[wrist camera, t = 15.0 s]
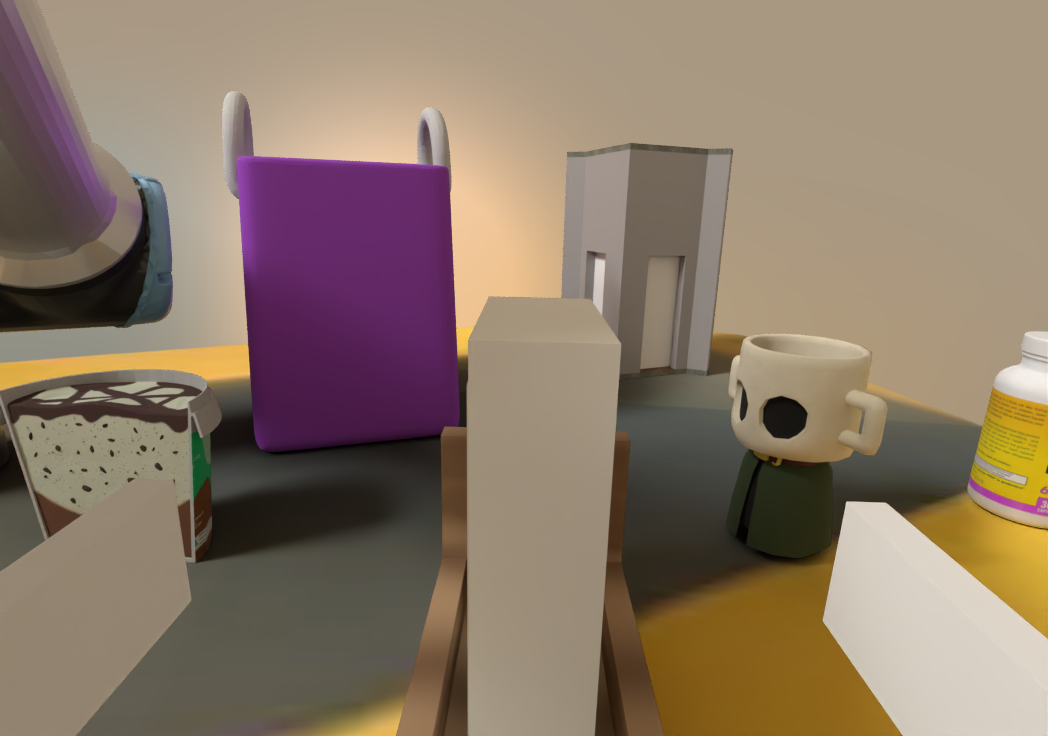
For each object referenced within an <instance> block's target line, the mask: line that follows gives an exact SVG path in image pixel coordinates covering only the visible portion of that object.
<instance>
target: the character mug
mask: <svg viewBox="0 0 1048 736" xmlns="http://www.w3.org/2000/svg"><path fill="white" fill-rule="evenodd" d="M871 361H872V351H870V350H868V349H866V348H865V347H863V346H859V345H856V344H852V343H849V342H846V341H841V340H835V339H829V338H824V337H816V336H807V335H795V334H758V335H753V336H748V337H747V338H745V339H744V340H743V343H742V347H741V353H740V355H737V356H735V357H734V359H733V361H732V364H731V373H730V381H729V389H728V391H729V397H730V398H731V399H732V400H734V403H733V407H732V411H731V413H732V420H731V424H732V427H733V430H734V432H735V434H736V437H737V439H738V440H739V442H740V443H741V444H742V445H744V446H745V447H747V448H749V450H748V451H747V452H746V454H745V456H744V459H743V462H742V465H741V468H740V472H739V475H738V479H737V482H736V485H735V489H734V492H733V495H732V499H731V504H730V508H729V513H728V517H727V521H726V524H727V526H728V528H729V530H730V532H731V534H733V535H734V536H736V533H737V529H738V525H739V521H741V522H742V523H743V524H744V525H745V526H746V527H747V528H748V536H747V542H746V544H747V545H749V546H750V547H752V548H755V549H758V550H760V551H763V552H766V553H768V554H771V555H776V556H784V557H792V558H801V557H804V556H808V555H812V554H815V553H819V552H821V551H822V550H824V549H825V548H827V547H828V546H830V545H831V529H832V480H833V471H832V468H831V465H830V463H829V461H838V460H841V459H844V458H847V457H850V455H851V454H852V452H853V450H856V451H858V452H861V453H863V454H866V455H875V453H876V451H877V450H878V448H879V446H880V445H881V440H882V435H883V430H884V425H885V420H886V415H887V405H886V402H885V401H883V400H882V399H880V398H879V397H877V396H874V395H871V394H867V393H866V388H867V383H868V377H869V372H870V367H871ZM862 410H864V411H865V418H864V423H863V429H862V434H861V435H860V434H858V431H859V426H860V420H861V415H862Z"/></svg>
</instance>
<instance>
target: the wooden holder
mask: <svg viewBox="0 0 1048 736" xmlns="http://www.w3.org/2000/svg"><path fill="white" fill-rule="evenodd" d="M629 453H630V439H629V436H628V434H627V432H626V431H615V445H614V460H613V474H612V489H611V503H610V518H609V533H608V547H607V562H606V577H605V591H604V606H603V620H602V635H601V650H600V664H599V679H598V694H597V708H596V723H595V736H664V732H663V728H662V724H661V720H660V716H659V712H658V708H657V704H656V700H655V696H654V692H653V688H652V684H651V680H650V676H649V672H648V668H647V664H646V660H645V656H644V652H643V648H642V644H641V640H640V636H639V632H638V628H637V624H636V620H635V616H634V612H633V608H632V604H631V600H630V596H629V592H628V588H627V584H626V580H625V576H624V572H623V568H622V564H621V558H622V545H623V532H624V519H625V506H626V493H627V479H628V466H629ZM441 478H442V541H443V558H442V562H441V566H440V570H439V574H438V577H437V581H436V585H435V589H434V593H433V597H432V600H431V604H430V608H429V612H428V616H427V619H426V623H425V627H424V631H423V635H422V639H421V642H420V646H419V650H418V654H417V658H416V662H415V665H414V669H413V673H412V677H411V681H410V684H409V688H408V692H407V696H406V700H405V704H404V707H403V711H402V715H401V719H400V723H399V727H398V730H397V734H396V736H468V645H467V427H444V429H443V432H442V434H441Z"/></svg>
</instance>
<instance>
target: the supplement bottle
mask: <svg viewBox="0 0 1048 736" xmlns="http://www.w3.org/2000/svg"><path fill="white" fill-rule="evenodd" d="M1021 350H1022V355H1023V358H1022V361H1021V363H1020V364H1019V365H1015V366H1011V367H1008V368H1006V369H1004V370H1002V371H1001V372H1000V373H999V374H998V375H997V376H996V378H995V381H994V385H993V388H992V392H991V396H990V400H989V404H988V409H987V412H986V417H985V420H984V424H983V428H982V432H981V436H980V440H979V443H978V447H977V452H976V456H975V459H974V463H973V467H972V471H971V475H970V479H969V483H968V494H969V496H970V497H971V499H972V500H973V501H974V502H976V503H977V504H978V505H980V506H981V507H983V508H984V509H986V510H988V511H990V512H992V513H994V514H996V515H998V516H1001V517H1003V518H1006V519H1009V520H1011V521H1014V522H1018V523H1021V524H1025V525H1029V526H1033V527H1039V528H1046V529H1048V332H1028V333H1026V334H1025V335H1024V339H1023V342H1022V345H1021Z"/></svg>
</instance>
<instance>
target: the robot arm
mask: <svg viewBox="0 0 1048 736" xmlns="http://www.w3.org/2000/svg"><path fill="white" fill-rule="evenodd" d="M171 271H172V252H171V239H170V227H169V217H168V209H167V202H166V196H165V193H164V191H163V187H162V185H161V183H160V182H159V181H157V180H156V179H154V178H151V177H145V176H141V175H139V174H136V173H128V171H127V170H126V169H125V167H124V166H123V165H121V163H120V162H119V161H118V160H117V159H116V158H115V157H113V156H112V155H111V154H110V153H109V152H108V151H106V150H105V149H103V148H101V147H100V146H99V145H97V144H95V143H93V142H92V140H91V137H90V135H89V132H88V130H87V127H86V124H85V122H84V119H83V117H82V114H81V112H80V109H79V106H78V104H77V101H76V99H75V96H74V94H73V91H72V88H71V86H70V83H69V81H68V78H67V76H66V73H65V70H64V68H63V65H62V63H61V60H60V58H59V55H58V53H57V50H56V47H55V45H54V42H53V40H52V37H51V34H50V32H49V29H48V27H47V24H46V22H45V19H44V16H43V14H42V11H41V9H40V6H39V4H38V1H37V0H0V332H1V333H2V332H19V331H37V330H54V329H71V328H90V327H107V326H115V327H117V328H127V327H130V326H132V325H135V324H145V323H154V322H158V321H160V320H162V319H164V318H165V317H166V316H167V315H168V314H169V312H170V310H171V307H172V297H173V282H172V275H171ZM9 457H10V454H9V450H8V445H7V441H6V437H5V433H4V430H3V428H2V427H1V425H0V469H1V468H2V467H3V466H4V465H5V464H6V463H7V461H8V460H9ZM190 602H191V594H190V587H189V581H188V574H187V567H186V561H185V554H184V547H183V541H182V534H181V527H180V521H179V514H178V507H177V501H176V494H175V487H174V481H173V480H153V479H133V480H132V481H131V482H129V483H128V484H126V485H125V486H123V487H122V488H120V489H119V490H118V491H116V492H115V493H113V494H112V495H110V496H109V497H108V498H106V499H105V500H103V501H102V502H100V503H99V504H97V505H96V506H95V507H93V508H92V509H90V510H89V511H87V512H86V513H84V514H83V515H82V516H80V517H79V518H77V519H76V520H74V521H73V522H71V523H70V524H69V525H67V526H66V527H64V528H63V529H61V530H60V531H58V532H57V533H56V534H54V535H53V536H51V537H50V538H48V539H47V540H45V541H44V542H43V543H41V544H40V545H38V546H37V547H35V548H34V549H32V550H31V551H30V552H28V553H27V554H25V555H24V556H22V557H21V558H20V559H18V560H17V561H15V562H14V563H12V564H11V565H9V566H8V567H7V568H5V569H4V570H2V571H1V572H0V736H76V735H77V734H78V732H79V731H80V730H81V729H82V728H83V727H84V725H85V724H86V723H87V722H88V721H89V720H90V718H91V717H92V716H93V715H94V714H95V712H96V711H97V710H98V709H99V708H100V707H101V705H102V704H103V703H104V702H105V701H106V700H107V698H108V697H109V696H110V695H111V694H112V693H113V691H114V690H115V689H116V688H117V687H118V686H119V684H120V683H121V682H122V681H123V680H124V679H125V677H126V676H127V675H128V674H129V673H130V672H131V670H132V669H133V668H134V667H135V666H136V665H137V663H138V662H139V661H140V660H141V659H142V658H143V656H144V655H145V654H146V653H147V652H148V651H149V649H150V648H151V647H152V646H153V645H154V644H155V642H156V641H157V640H158V639H159V638H160V637H161V635H162V634H163V633H164V632H165V631H166V630H167V628H168V627H169V626H170V625H171V624H172V623H173V621H174V620H175V619H176V618H177V617H178V616H179V614H180V613H181V612H182V611H183V610H184V609H185V607H186V606H187V605H188V604H189V603H190ZM823 622H824V624H825V625H826V627H827V628H828V629H829V631H830V632H831V634H832V635H833V637H834V638H835V640H836V641H837V642H838V644H839V645H840V647H841V648H842V650H843V651H844V652H845V654H846V655H847V657H848V658H849V660H850V661H851V662H852V664H853V665H854V667H855V668H856V670H857V671H858V672H859V674H860V675H861V677H862V678H863V680H864V681H865V682H866V684H867V685H868V687H869V688H870V690H871V691H872V693H873V694H874V695H875V697H876V698H877V700H878V701H879V703H880V704H881V705H882V707H883V708H884V710H885V711H886V713H887V714H888V715H889V717H890V718H891V720H892V721H893V723H894V724H895V725H896V727H897V728H898V730H899V731H900V733H901V734H902V735H903V736H1048V639H1047V638H1046V637H1045V636H1044V635H1042V634H1041V633H1040V632H1039V631H1038V630H1036V629H1035V628H1034V627H1033V626H1032V625H1030V624H1029V623H1028V622H1027V621H1026V620H1025V619H1023V618H1022V617H1021V616H1020V615H1019V614H1017V613H1016V612H1015V611H1014V610H1013V609H1011V608H1010V607H1009V606H1008V605H1007V604H1006V603H1004V602H1003V601H1002V600H1001V599H1000V598H998V597H997V596H996V595H995V594H994V593H992V592H991V591H990V590H989V589H988V588H987V587H985V586H984V585H983V584H982V583H981V582H979V581H978V580H977V579H976V578H975V577H974V576H972V575H971V574H970V573H969V572H968V571H966V570H965V569H964V568H963V567H962V566H960V565H959V564H958V563H957V562H956V561H955V560H953V559H952V558H951V557H950V556H949V555H947V554H946V553H945V552H944V551H943V550H941V549H940V548H939V547H938V546H937V545H936V544H934V543H933V542H932V541H931V540H930V539H928V538H927V537H926V536H925V535H924V534H922V533H921V532H920V531H919V530H918V529H917V528H915V527H914V526H913V525H912V524H911V523H909V522H908V521H907V520H906V519H905V518H903V517H902V516H901V515H900V514H899V513H898V512H896V511H895V510H894V509H893V508H892V507H890V506H889V505H888V504H887V503H879V502H846V507H845V512H844V517H843V521H842V526H841V531H840V536H839V541H838V546H837V551H836V556H835V561H834V566H833V571H832V576H831V581H830V586H829V591H828V596H827V601H826V606H825V611H824V616H823Z"/></svg>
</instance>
